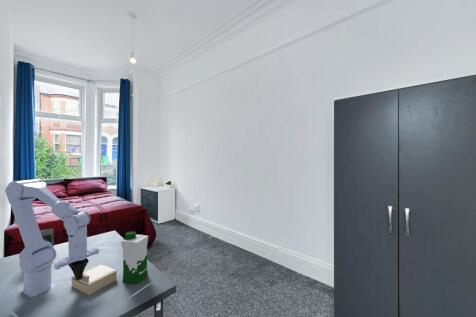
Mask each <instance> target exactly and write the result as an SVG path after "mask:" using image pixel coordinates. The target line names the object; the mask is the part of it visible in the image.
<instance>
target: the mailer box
mask: <svg viewBox="0 0 476 317" xmlns="http://www.w3.org/2000/svg"><path fill="white" fill-rule="evenodd" d="M101 264H102V263H101ZM101 264H100V263H99V264H97V265H95V266H92V267H90V268H87V269H84V272H86V271H88V270H90V269H92V268H95V267H97V266H99V265H101ZM84 272H83V273H84ZM117 272H118V271H117V270H116V269H115V271H113V272H111V273H109V274H107V275H105V276H103V277H101V278H99V279H97V280H95V281H93V282H91V283H89V284H88V285H87V284H85V283H83V282H81V281H79V280H76V279H74V277H75V276H74V275H72V276H71V287H72V288H74V289H76V290H78V291H80V292H82V293H84V294H85V295H87V296H90V295H92V294H94V293H96V292H98V291H99V290H101V289H104V288H105V287H107V286H108V285H110V284H112V283H114V282H116V281H117Z"/></svg>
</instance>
